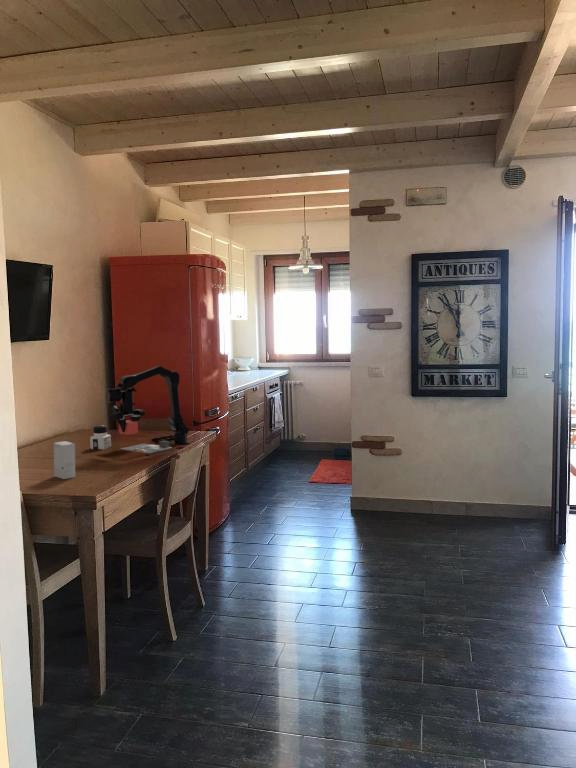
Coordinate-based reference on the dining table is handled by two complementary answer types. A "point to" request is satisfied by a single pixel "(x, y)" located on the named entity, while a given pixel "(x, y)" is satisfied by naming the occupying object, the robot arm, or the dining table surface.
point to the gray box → (164, 444)
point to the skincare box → (64, 460)
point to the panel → (148, 449)
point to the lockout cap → (130, 427)
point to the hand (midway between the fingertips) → (128, 431)
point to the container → (100, 438)
